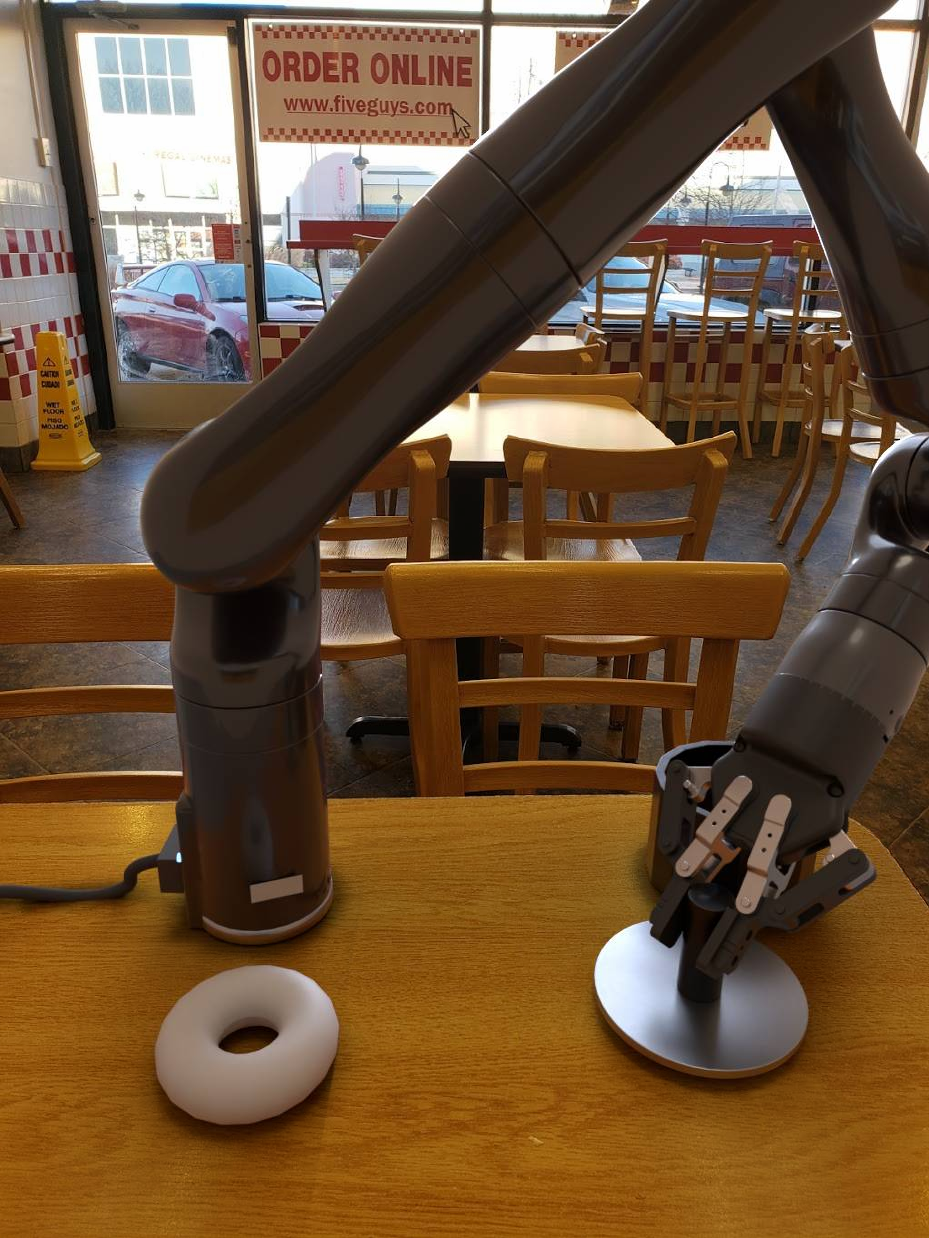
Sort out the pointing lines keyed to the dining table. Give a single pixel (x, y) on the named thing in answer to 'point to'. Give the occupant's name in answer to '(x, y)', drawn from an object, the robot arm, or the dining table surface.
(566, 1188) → the dining table surface
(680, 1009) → the lid
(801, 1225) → the dining table surface
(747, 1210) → the dining table surface
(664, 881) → the pot
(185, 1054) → the donut
